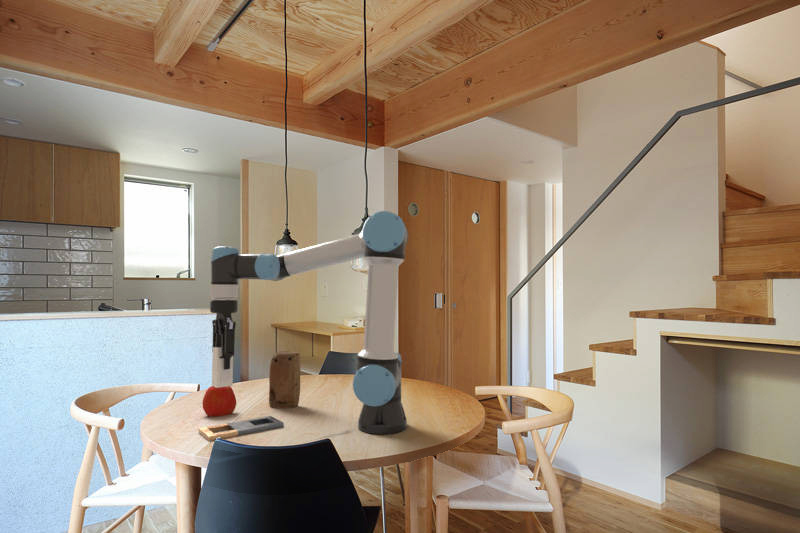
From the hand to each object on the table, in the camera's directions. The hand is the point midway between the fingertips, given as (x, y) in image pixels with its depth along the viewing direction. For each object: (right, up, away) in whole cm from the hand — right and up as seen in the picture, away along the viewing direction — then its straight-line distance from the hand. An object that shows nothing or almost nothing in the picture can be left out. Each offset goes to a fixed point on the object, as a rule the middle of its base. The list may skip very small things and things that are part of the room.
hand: (222, 379), depth 137 cm
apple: (-9, -18, +22) cm, 30 cm away
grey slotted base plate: (+5, -17, +3) cm, 17 cm away
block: (+10, -18, +33) cm, 39 cm away
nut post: (0, -2, 0) cm, 2 cm away
